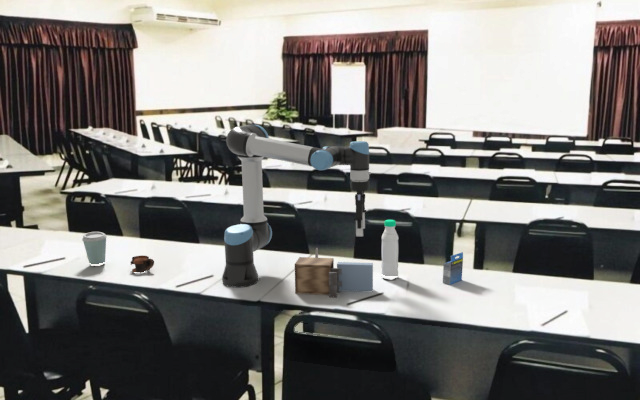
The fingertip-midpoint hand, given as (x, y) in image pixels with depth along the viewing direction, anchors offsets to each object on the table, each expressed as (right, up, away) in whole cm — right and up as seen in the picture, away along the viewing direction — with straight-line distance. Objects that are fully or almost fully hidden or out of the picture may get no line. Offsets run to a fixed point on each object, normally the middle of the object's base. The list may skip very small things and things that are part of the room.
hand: (360, 232), depth 248 cm
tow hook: (-17, -20, +18) cm, 32 cm away
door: (-2, -23, -3) cm, 23 cm away
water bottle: (+13, -20, +12) cm, 27 cm away
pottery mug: (-96, -19, +27) cm, 102 cm away
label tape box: (+39, -21, +6) cm, 44 cm away
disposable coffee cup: (-120, -17, +38) cm, 127 cm away
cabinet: (-17, -23, -4) cm, 29 cm away
